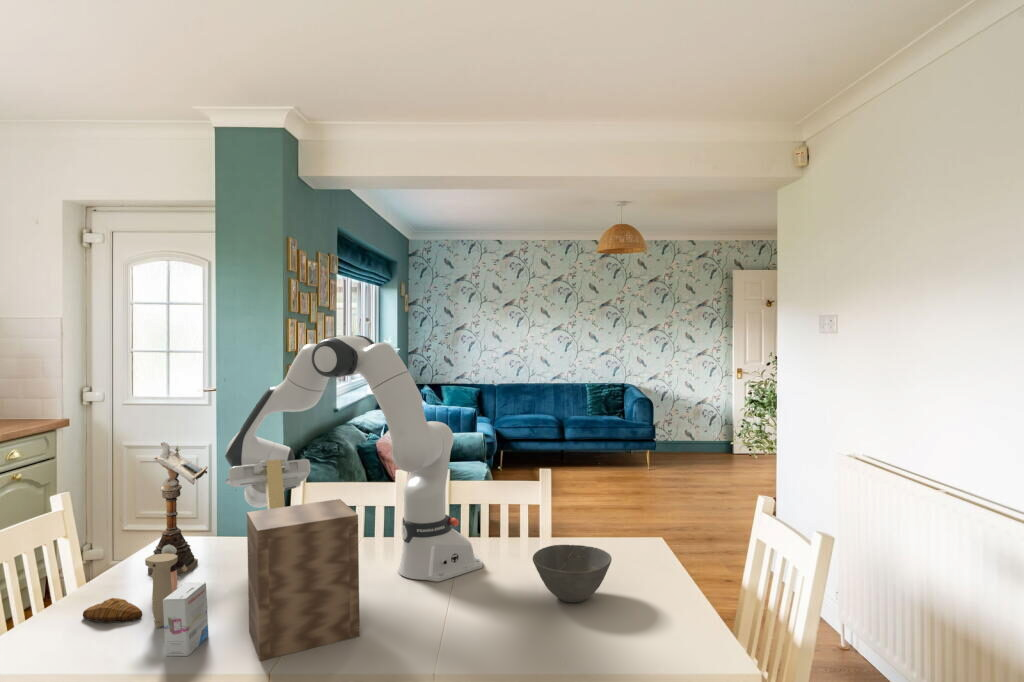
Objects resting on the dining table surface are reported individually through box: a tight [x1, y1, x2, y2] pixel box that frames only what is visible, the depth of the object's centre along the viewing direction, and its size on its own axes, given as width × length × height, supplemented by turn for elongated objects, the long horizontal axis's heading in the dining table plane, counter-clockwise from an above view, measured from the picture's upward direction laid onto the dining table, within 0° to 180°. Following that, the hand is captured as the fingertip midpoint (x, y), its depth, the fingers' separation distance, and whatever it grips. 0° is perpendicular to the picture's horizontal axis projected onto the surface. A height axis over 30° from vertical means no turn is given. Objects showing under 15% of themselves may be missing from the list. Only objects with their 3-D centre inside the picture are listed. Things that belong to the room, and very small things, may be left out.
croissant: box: [82, 597, 143, 624], centre depth 147 cm, size 14×7×5 cm, turn 86°
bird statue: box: [147, 441, 208, 576], centre depth 177 cm, size 17×13×35 cm
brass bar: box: [265, 459, 286, 509], centre depth 165 cm, size 4×23×4 cm
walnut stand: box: [246, 498, 361, 662], centre depth 139 cm, size 20×14×26 cm
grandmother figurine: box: [150, 544, 187, 593], centre depth 158 cm, size 8×4×13 cm, turn 131°
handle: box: [144, 554, 177, 629], centre depth 144 cm, size 5×6×15 cm
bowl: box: [532, 544, 612, 603], centre depth 157 cm, size 19×19×10 cm
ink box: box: [163, 581, 209, 657], centre depth 134 cm, size 9×5×12 cm, turn 178°
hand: (274, 462), depth 166 cm, fingers closed on brass bar, 4 cm apart
